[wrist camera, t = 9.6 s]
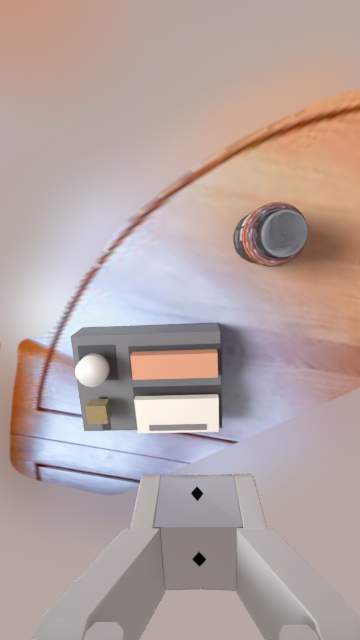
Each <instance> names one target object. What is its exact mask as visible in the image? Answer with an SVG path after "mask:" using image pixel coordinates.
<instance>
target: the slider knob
mask: <svg viewBox="0 0 360 640" xmlns="http://www.w3.org/2000/svg"><path fill="white" fill-rule="evenodd" d="M86 413H87V421H88V424H108V422H109V420H110V418H111V410H110V402H109V399H91V400H89V402H88V403H87V405H86Z"/></svg>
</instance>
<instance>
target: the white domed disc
mask: <svg viewBox="0 0 360 640" xmlns="http://www.w3.org/2000/svg"><path fill="white" fill-rule="evenodd" d="M109 371H110V367H109V363H108V361H107V360H106V359H105V358H104V357H103V356H101V355H99V354H88V355H86V356H84V357H83V358H82V359H81V360H80V361H79V362H78V364H77V365H76V368H75V374H76V377H77V379H78V380H79V382H80V383H82V384H83V385H85V386H88V387H97V386H99V385H101V384H102V383H103V382H104V381H105V379H106V378H107V376H108V374H109Z"/></svg>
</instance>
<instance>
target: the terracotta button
mask: <svg viewBox="0 0 360 640" xmlns="http://www.w3.org/2000/svg"><path fill="white" fill-rule="evenodd" d="M130 357H131V368H132V378H133V380H149V379H185V378H218V353H217V349H202V350H172V351H141V352H132V354H131V356H130Z"/></svg>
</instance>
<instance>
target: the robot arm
mask: <svg viewBox="0 0 360 640" xmlns="http://www.w3.org/2000/svg"><path fill="white" fill-rule="evenodd" d="M200 587H201V589H207V590H232V591H237V594H238V596H239V597H240V599H241V601H242V602H243V604H244V606H245V607H246V609H247V611H248V612H249V614H250V616H251V617H252V619H253V621H254V622H255V624H256V626H257V627H258V629H259V631H260V632H261V634H262V636H263V637H264V639H265V640H360V615H359V613H358V612H357V611H356V610H354V608H353V607H352V606H351V605H350V604H349V603H348V602H347V601H346V600H345V599H344V598H343V597H342V596H341V595H340V594H339V593H338V592H337V591H336V590H335V589H334V588H333V587H332V586H331V585H330V584H329V583H328V582H327V581H326V580H325V579H323V577H322V576H321V575H320V574H319V573H318V572H316V570H315V569H314V568H313V567H312V566H311V565H310V564H309V563H308V562H307V561H306V560H305V559H304V558H303V557H302V556H301V555H300V554H299V553H298V552H297V551H296V550H295V549H294V548H293V547H292V546H291V545H290V544H289V543H288V542H287V541H286V540H285V539H284V538H283V537H282V536H281V535H280V534H279V533H278V532H277V531H276V530H275V529H274V528H267V525H266V521H265V517H264V514H263V510H262V506H261V503H260V499H259V495H258V491H257V488H256V484H255V480H254V477H253V475H252V474H233V475H143V476H142V478H141V481H140V486H139V490H138V495H137V499H136V504H135V509H134V513H133V518H132V523H131V527H130V528H128V529H123V530H122V532H121V533H120V534H119V535H118V536H117V537H116V538H115V539H114V540H113V541H112V542H111V543H110V544H109V545H108V547H107V548H106V549H105V550H104V551H103V552H102V553H101V554H100V555H99V556H98V557H97V558H96V559H95V560H94V562H93V563H92V564H91V565H90V566H89V567H88V568H87V569H86V570H85V571H84V572H83V573H82V574H81V575H80V576H79V578H78V579H77V580H76V581H75V582H74V583H73V584H72V585H71V586H70V587H69V588H68V589H67V591H65V593H64V594H63V595H62V596H61V597H60V598H59V599H58V600H57V601H56V602H55V603H54V604H53V605H52V607H51V608H50V609H49V610H48V611H47V612H46V613H45V614H44V615H43V616H42V617H41V618H40V620H39V623H38V625H37V628H36V630H35V633H34V635H33V637H32V640H139V639H140V637H141V635H142V633H143V632H144V630H145V628H146V626H147V624H148V623H149V621H150V619H151V617H152V615H153V614H154V612H155V610H156V608H157V606H158V604H159V603H160V601H161V599H162V597H163V595H164V594H165V590H188V589H189V590H190V589H200Z"/></svg>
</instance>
